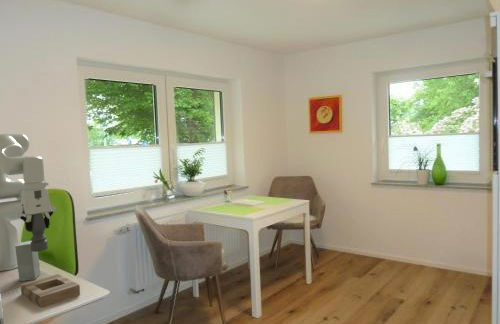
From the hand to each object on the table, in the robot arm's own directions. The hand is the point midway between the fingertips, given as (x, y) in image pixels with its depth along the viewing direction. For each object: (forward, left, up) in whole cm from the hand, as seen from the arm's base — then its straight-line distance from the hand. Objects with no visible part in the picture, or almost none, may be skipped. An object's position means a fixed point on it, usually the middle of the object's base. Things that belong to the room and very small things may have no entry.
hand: (37, 229), depth 160 cm
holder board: (+15, -2, -23) cm, 28 cm away
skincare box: (-13, 0, -24) cm, 27 cm away
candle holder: (0, 0, -9) cm, 9 cm away
